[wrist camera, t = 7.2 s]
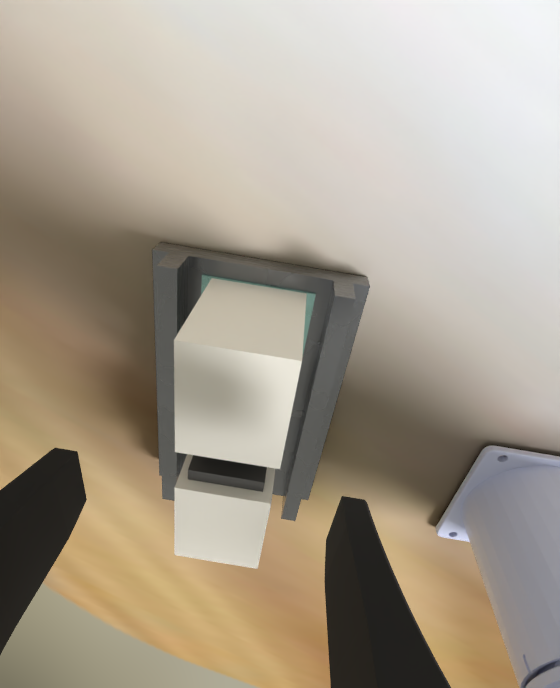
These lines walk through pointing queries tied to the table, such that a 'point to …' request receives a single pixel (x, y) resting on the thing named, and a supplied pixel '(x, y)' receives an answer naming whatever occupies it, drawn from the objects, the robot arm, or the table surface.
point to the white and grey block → (222, 510)
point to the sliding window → (317, 360)
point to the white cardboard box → (238, 372)
